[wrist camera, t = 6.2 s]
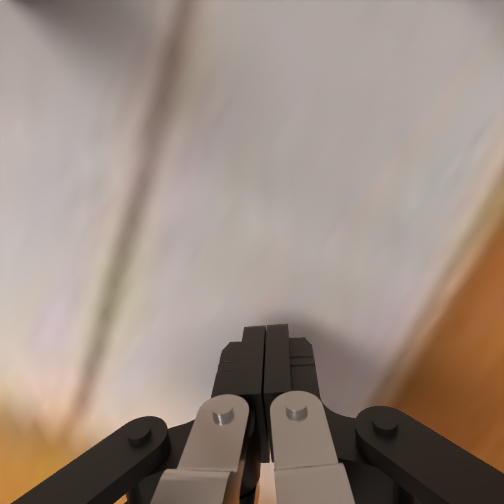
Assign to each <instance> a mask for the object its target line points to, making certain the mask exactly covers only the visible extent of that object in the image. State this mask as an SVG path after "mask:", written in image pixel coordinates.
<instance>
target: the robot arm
mask: <svg viewBox="0 0 504 504" xmlns="http://www.w3.org/2000/svg"><path fill="white" fill-rule="evenodd" d="M270 451H271V459H272V462H274V464H275V469H274V472H275V485H276V497H277V504H504V474H503V473H502V472H500V471H499V470H497V469H495V468H494V467H492V466H490V465H489V464H487V463H485V462H484V461H482V460H480V459H479V458H477V457H475V456H474V455H472V454H471V453H469V452H467V451H466V450H464V449H462V448H461V447H459V446H457V445H456V444H454V443H452V442H451V441H449V440H448V439H446V438H444V437H443V436H441V435H439V434H438V433H436V432H434V431H433V430H431V429H429V428H428V427H426V426H424V425H423V424H421V423H420V422H418V421H416V420H415V419H413V418H411V417H410V416H408V415H406V414H405V413H403V412H401V411H399V410H397V409H394V408H391V407H386V406H374V407H369V408H367V409H365V410H363V411H361V412H360V413H359V414H358V416H357V417H356V419H355V418H350V417H346V416H342V415H339V414H336V413H334V412H332V411H331V410H329V409H328V408H327V407H326V406H325V405H324V404H323V403H322V401H321V398H320V394H319V387H318V381H317V375H316V368H315V362H314V355H313V349H312V345H311V344H310V343H309V342H308V341H307V340H306V339H305V338H304V337H303V338H289V331H288V324H279V325H267V331H266V326H250V327H244V331H243V338H242V342H230V343H229V344H228V345H227V346H226V347H225V348H224V349H223V351H222V353H221V357H220V363H219V366H218V371H217V374H216V378H215V383H214V387H213V391H212V395H211V399H209V400H208V401H206V402H205V403H204V404H203V405H202V406H201V407H200V409H199V411H198V413H197V416H196V419H194V420H193V421H191V422H188V423H186V424H182V425H179V426H176V427H172V428H169V429H168V428H167V425H166V423H165V422H164V421H163V420H162V419H160V418H158V417H154V416H146V417H140V418H137V419H134V420H132V421H130V422H128V423H127V424H125V425H124V426H122V427H121V428H119V429H118V430H116V431H115V432H114V433H112V434H111V435H109V436H108V437H106V438H105V439H103V440H102V441H101V442H99V443H98V444H96V445H95V446H93V447H92V448H90V449H89V450H88V451H86V452H85V453H83V454H82V455H80V456H79V457H77V458H76V459H75V460H73V461H72V462H70V463H69V464H67V465H66V466H64V467H63V468H62V469H60V470H59V471H57V472H56V473H54V474H53V475H51V476H50V477H49V478H47V479H46V480H44V481H43V482H41V483H40V484H38V485H37V486H36V487H34V488H33V489H31V490H30V491H28V492H27V493H25V494H24V495H23V496H21V497H20V498H18V499H17V500H15V501H14V502H13V503H11V504H114V503H115V502H116V501H117V500H119V499H120V498H121V497H122V496H123V495H125V494H126V497H127V502H125V503H124V504H258V500H259V492H260V485H259V478H260V466H261V463H270Z"/></svg>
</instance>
